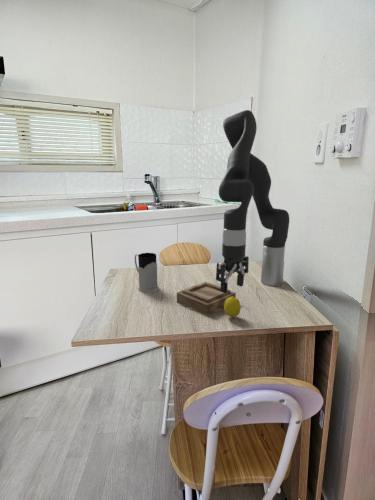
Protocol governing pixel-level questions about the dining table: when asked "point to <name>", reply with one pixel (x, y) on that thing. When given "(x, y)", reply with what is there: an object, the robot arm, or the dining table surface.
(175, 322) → the dining table surface
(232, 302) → the lemon
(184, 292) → the brown wooden crate
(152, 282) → the glass holder
